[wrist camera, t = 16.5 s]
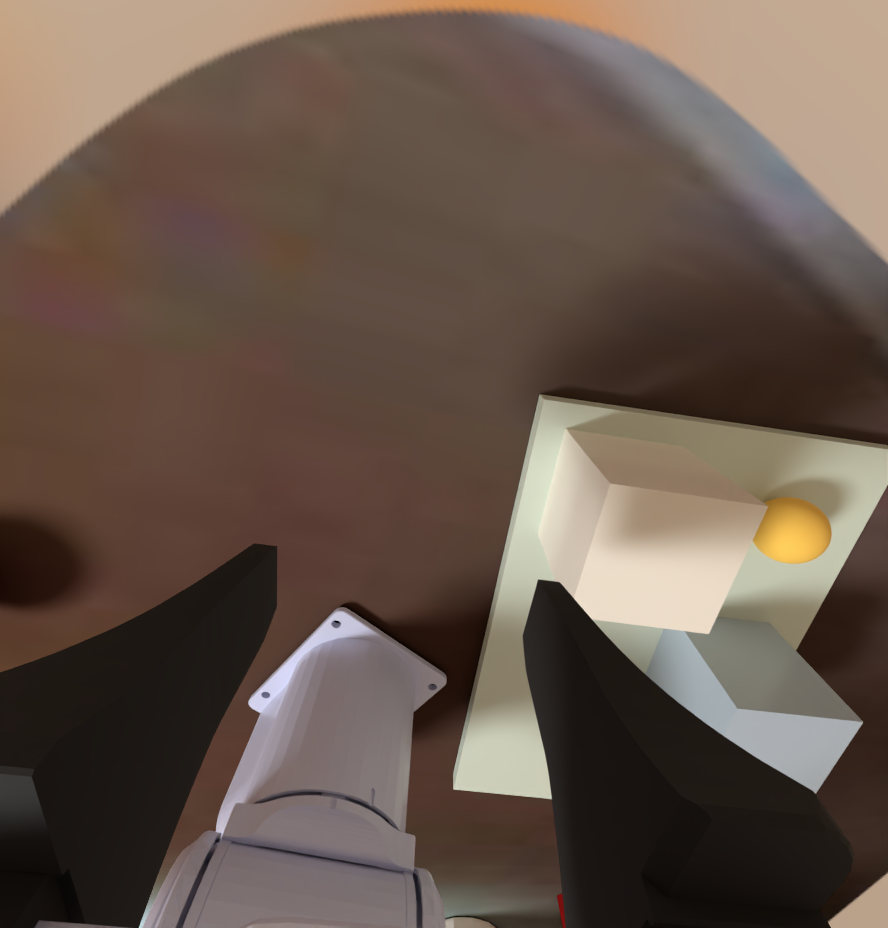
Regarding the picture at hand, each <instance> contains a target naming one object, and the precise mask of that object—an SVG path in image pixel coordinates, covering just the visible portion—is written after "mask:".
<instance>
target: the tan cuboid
mask: <svg viewBox="0 0 888 928" xmlns="http://www.w3.org/2000/svg"><path fill="white" fill-rule="evenodd" d="M767 508H768V506H767V505H766V504H764V503H763V502H761V501H760V500H759V499H757V498H756V497H754V496H753V495H751V494H750V493H749V492H747V491H746V490H744V489H743V488H741V487H740V486H739V485H737V484H736V483H734V482H733V481H731V480H730V479H729V478H727V477H726V476H724V475H723V474H721V473H720V472H719V471H717V470H716V469H714V468H713V467H711V466H710V465H709V464H707V463H706V462H704V461H703V460H701V459H700V458H699V457H697V456H696V455H694V454H693V453H691V452H690V451H689V450H687V449H686V448H684V447H683V446H677V445H670V444H664V443H657V442H650V441H644V440H637V439H631V438H624V437H617V436H611V435H604V434H597V433H591V432H584V431H577V430H571V429H565V433H564V437H563V441H562V444H561V448H560V452H559V456H558V459H557V463H556V467H555V471H554V475H553V478H552V482H551V486H550V490H549V493H548V497H547V501H546V505H545V509H544V512H543V516H542V520H541V524H540V527H539V531H538V536H539V539H540V541H541V544H542V547H543V549H544V552H545V555H546V558H547V560H548V563H549V566H550V568H551V571H552V574H553V577H554V579H555V581H556V582H560V583H561V584H562V585H563V586H564V587H565V589H566V590H567V591H568V592H569V593H570V594H571V595H572V597H573V598H574V599H575V600H576V601H577V603H578V604H579V605H580V606H581V607H582V608H583V610H584V611H585V612H586V613H587V614H588V615H589V617H590V618H591V619H593V620H601V621H609V622H617V623H625V624H632V625H640V626H648V627H656V628H664V629H672V630H680V631H688V632H696V633H703V634H709V633H710V631H711V629H712V626H713V624H714V622H715V620H716V618H717V616H718V614H719V611H720V609H721V607H722V605H723V603H724V601H725V599H726V596H727V594H728V592H729V590H730V588H731V586H732V583H733V581H734V579H735V577H736V575H737V573H738V571H739V568H740V566H741V564H742V562H743V560H744V558H745V556H746V553H747V551H748V549H749V547H750V545H751V543H752V541H753V538H754V536H755V534H756V532H757V530H758V528H759V526H760V523H761V521H762V519H763V517H764V515H765V513H766V510H767Z"/></svg>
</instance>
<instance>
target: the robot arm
mask: <svg viewBox="0 0 888 928" xmlns="http://www.w3.org/2000/svg"><path fill="white" fill-rule="evenodd" d="M276 607H277V546H270V545H262V544H253V545H251V546H250V547H248V548H247V549H245V550H244V551H242V552H241V553H240V554H238V555H237V556H235V557H234V558H232V559H231V560H229V561H228V562H226V563H225V564H223V565H222V566H220V567H219V568H218V569H216V570H215V571H213V572H211V573H210V574H208V575H207V576H205V577H204V578H202V579H201V580H199V581H198V582H196V583H195V584H193V585H191V586H190V587H188V588H186V589H185V590H183V591H181V592H180V593H178V594H176V595H175V596H173V597H171V598H170V599H168V600H166V601H165V602H163V603H161V604H160V605H158V606H156V607H154V608H152V609H151V610H149V611H147V612H145V613H143V614H141V615H139V616H137V617H135V618H133V619H131V620H129V621H127V622H125V623H123V624H121V625H119V626H117V627H115V628H113V629H111V630H109V631H106V632H104V633H102V634H99V635H97V636H95V637H92V638H90V639H88V640H85V641H83V642H81V643H78V644H76V645H74V646H71V647H69V648H67V649H64V650H62V651H59V652H57V653H54V654H51V655H49V656H46V657H43V658H41V659H38V660H35V661H33V662H30V663H27V664H24V665H21V666H18V667H15V668H12V669H9V670H7V671H4V672H1V673H0V928H139V925H140V922H141V920H142V917H143V914H144V911H145V908H146V906H147V903H148V900H149V897H150V895H151V892H152V889H153V886H154V884H155V881H156V878H157V875H158V873H159V870H160V868H161V865H162V862H163V860H164V857H165V855H166V852H167V849H168V847H169V844H170V841H171V839H172V836H173V834H174V831H175V828H176V826H177V823H178V821H179V818H180V816H181V813H182V811H183V808H184V806H185V803H186V801H187V798H188V796H189V793H190V791H191V788H192V786H193V783H194V781H195V779H196V776H197V774H198V771H199V769H200V767H201V764H202V762H203V760H204V757H205V755H206V752H207V750H208V748H209V745H210V743H211V741H212V738H213V736H214V734H215V732H216V730H217V728H218V726H219V724H220V722H221V720H222V718H223V716H224V714H225V712H226V710H227V708H228V707H229V705H230V703H231V701H232V699H233V697H234V695H235V694H236V692H237V690H238V688H239V686H240V684H241V682H242V681H243V679H244V677H245V675H246V673H247V671H248V669H249V668H250V666H251V664H252V662H253V660H254V658H255V656H256V654H257V653H258V651H259V649H260V647H261V645H262V643H263V641H264V639H265V636H266V634H267V631H268V629H269V626H270V623H271V621H272V618H273V615H274V613H275V610H276ZM335 620H337V621H339V622H340V623H336V622H334V621H335ZM523 647H524V658H525V667H526V674H527V678H528V683H529V687H530V692H531V696H532V700H533V705H534V709H535V713H536V718H537V722H538V726H539V730H540V735H541V739H542V743H543V748H544V752H545V757H546V762H547V768H548V774H549V781H550V788H551V796H552V803H553V811H554V819H555V828H556V836H557V845H558V854H559V863H560V873H561V884H562V894H563V904H564V915H565V927H566V928H831V927H830V925H829V924H828V922H827V920H826V918H825V917H824V915H823V913H822V912H821V910H820V909H821V908H822V906H823V905H824V904H825V903H826V902H827V901H828V899H829V898H830V897H831V896H832V895H833V894H834V892H835V891H836V890H837V889H838V888H839V887H840V885H841V884H842V883H843V882H844V881H845V879H846V877H847V876H848V874H849V872H850V871H851V867H852V861H853V855H854V853H853V850H852V847H851V845H850V842H849V841H848V839H847V838H846V837H845V835H844V834H843V832H842V831H841V829H840V828H839V827H838V825H837V824H836V822H835V821H834V819H833V818H832V817H831V815H830V814H829V812H828V811H827V809H826V808H825V807H824V805H823V804H822V802H821V801H820V799H819V798H818V797H817V795H816V794H815V793H814V791H812V790H810V789H809V788H807V787H805V786H804V785H802V784H800V783H799V782H797V781H795V780H793V779H792V778H790V777H788V776H787V775H785V774H783V773H782V772H780V771H778V770H776V769H775V768H773V767H771V766H770V765H768V764H766V763H764V762H763V761H761V760H760V759H758V758H756V757H755V756H753V755H752V754H750V753H749V752H747V751H746V750H744V749H743V748H741V747H740V746H738V745H736V744H735V743H733V742H732V741H730V740H729V739H727V738H726V737H724V736H723V735H722V734H720V733H719V732H717V731H716V730H714V729H713V728H712V727H710V726H709V725H707V724H706V723H705V722H703V721H702V720H701V719H699V718H698V717H697V716H695V715H694V714H693V713H691V712H690V711H689V710H688V709H686V708H685V707H684V706H682V705H681V704H680V703H678V702H677V701H676V700H675V699H674V698H672V697H671V696H670V695H669V694H667V693H666V692H665V691H664V690H663V689H662V688H660V687H659V686H658V685H657V684H656V683H655V682H654V681H652V680H651V679H650V678H649V677H648V676H647V675H646V674H644V673H643V672H642V671H641V670H640V669H639V668H638V667H637V666H636V665H635V664H634V663H633V662H632V661H631V660H630V659H629V658H628V657H627V656H626V655H625V654H624V653H623V652H622V651H621V650H620V649H619V648H618V647H617V646H616V645H615V644H614V643H613V642H612V641H611V640H610V639H609V638H608V637H607V636H606V634H605V633H604V632H603V631H602V630H601V629H600V628H599V627H598V626H597V624H596V623H595V622H594V621H593V620H592V619H591V618H590V617H589V615H588V614H587V613H586V612H585V611H584V610H583V608H582V607H581V606H580V605H579V604H578V603H577V601H576V600H575V599H574V598H573V597H572V595H571V594H570V593H569V592H568V591H567V590H566V589H565V587H564V586H563V585H562V584H561V583H560V582H556V581H548V580H540V579H538V581H537V585H536V589H535V592H534V596H533V600H532V603H531V607H530V610H529V614H528V618H527V621H526V625H525V629H524V632H523ZM446 682H447V677H446V675H445V674H444V673H443V672H442V671H440V670H439V669H437V668H436V667H434V666H433V665H431V664H430V663H428V662H427V661H425V660H424V659H422V658H421V657H419V656H418V655H416V654H415V653H413V652H412V651H410V650H409V649H407V648H406V647H404V646H403V645H401V644H400V643H398V642H397V641H396V640H394V639H393V638H391V637H390V636H388V635H387V634H385V633H384V632H382V631H381V630H379V629H378V628H376V627H375V626H373V625H372V624H370V623H369V622H367V621H366V620H364V619H363V618H361V617H360V616H358V615H357V614H355V613H354V612H352V611H351V610H349V609H347V608H345V607H340V608H337V609H336V610H335V611H334V612H333V613H332V614H331V615H330V616H329V617H328V618H327V619H326V620H325V621H324V622H323V623H322V624H321V625H320V626H319V627H318V628H317V629H316V630H315V631H314V632H313V633H312V634H311V635H310V636H309V637H308V638H307V639H306V640H305V641H304V642H303V644H302V645H301V646H300V647H299V648H298V649H297V650H296V651H295V652H294V653H293V654H292V655H291V656H290V657H289V658H288V659H287V660H286V661H285V662H284V663H283V664H282V665H281V666H280V667H279V668H278V669H277V670H276V671H275V672H274V673H273V674H272V675H271V676H270V677H269V678H268V679H267V680H266V681H265V682H264V683H263V684H262V685H261V686H260V687H259V689H258V690H257V691H256V692H255V693H254V694H253V695H252V696H251V698H250V700H249V706H250V707H251V708H252V709H254V710H256V711H258V712H259V713H261V714H260V716H259V718H258V721H257V723H256V725H255V728H254V730H253V732H252V735H251V737H250V740H249V742H248V744H247V747H246V749H245V751H244V754H243V756H242V758H241V761H240V763H239V766H238V768H237V770H236V773H235V775H234V777H233V780H232V782H231V785H230V787H229V789H228V792H227V794H226V796H225V799H224V801H223V803H222V806H221V809H220V812H219V815H218V820H217V825H216V832H214V831H206V832H204V833H203V834H202V835H201V836H200V837H199V838H198V840H196V841H194V842H193V843H192V844H190V845H189V846H188V847H186V848H185V849H184V850H183V851H182V852H181V854H180V855H179V856H178V858H177V859H176V861H175V863H174V864H173V866H172V868H171V870H170V871H169V873H168V875H167V877H166V879H165V881H164V883H163V885H162V887H161V889H160V891H159V893H158V895H157V897H156V899H155V901H154V903H153V906H152V908H151V910H150V912H149V914H148V917H147V919H146V921H145V923H144V926H143V928H446V924H445V914H444V908H443V903H442V900H441V896H440V894H439V892H438V890H437V888H436V887H435V884H434V881H433V878H432V876H431V874H430V873H429V871H428V870H426V869H421V868H415V867H414V856H415V836H414V835H411V834H407V833H405V827H406V813H407V799H408V785H409V770H410V756H411V742H412V728H413V713H414V711H416V710H417V709H418V708H419V707H420V706H422V705H423V704H424V703H425V702H426V701H427V700H429V699H430V698H431V697H432V696H433V695H434V694H436V693H437V692H438V691H439V690H440V689H441V688H443V687H444V686H445V685H446ZM430 684H435V685H430ZM267 692H268V693H267Z"/></svg>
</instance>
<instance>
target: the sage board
mask: <svg viewBox="0 0 888 928" xmlns="http://www.w3.org/2000/svg"><path fill="white" fill-rule="evenodd" d="M565 429H571V430H577V431H584V432H591V433H597V434H604V435H611V436H617V437H624V438H631V439H637V440H644V441H650V442H657V443H664V444H670V445H677V446H683V447H684V448H686V449H687V450H689V451H690V452H691V453H693V454H694V455H696V456H697V457H699V458H700V459H701V460H703V461H704V462H706V463H707V464H709V465H710V466H711V467H713V468H714V469H716V470H717V471H719V472H720V473H721V474H723V475H724V476H726V477H727V478H729V479H730V480H731V481H733V482H734V483H736V484H737V485H739V486H740V487H741V488H743V489H744V490H746V491H747V492H749V493H750V494H751V495H753V496H754V497H756V498H757V499H759V500H760V501H761V502H763V503H765V502H767V501H769V500H772V499H776V498H781V497H792V498H799V499H802V500H805V501H808V502H810V503H812V504H813V505H815V506H816V507H818V508H819V509H820V510H821V511H822V512H823V513H824V514H825V515H826V517H827V518H828V520H829V523H830V525H831V531H832V537H831V541H830V544H829V546H828V548H827V549H826V550H825V552H824V553H823V554H821V555H820V556H819V557H817V558H816V559H814V560H812V561H809V562H805V563H800V564H788V563H782V562H779V561H776V560H773V559H771V558H769V557H768V556H766V555H765V554H763V553H762V552H761V551H760V550H759V549H758V548H757V547H756V546H755V544H754V543H753V541H752V543H751V545H750V547H749V549H748V551H747V553H746V556H745V558H744V560H743V562H742V564H741V566H740V568H739V571H738V573H737V575H736V577H735V579H734V581H733V583H732V586H731V588H730V590H729V592H728V594H727V596H726V599H725V601H724V603H723V605H722V607H721V609H720V611H719V614H718V616H717V617H724V618H733V619H741V620H750V621H758V622H767V623H770V624H771V625H772V626H773V627H774V628H775V629H776V630H777V631H778V633H779V634H780V635H781V636H782V637H783V638H784V639H785V640H786V641H787V642H788V643H789V644H790V645H791V646H792V647H793V648H794V649H795V650H797V648H798V646H799V644H800V642H801V641H802V639H803V637H804V635H805V633H806V632H807V630H808V628H809V626H810V624H811V622H812V621H813V619H814V617H815V615H816V613H817V612H818V610H819V608H820V606H821V604H822V603H823V601H824V599H825V597H826V595H827V594H828V592H829V590H830V588H831V586H832V585H833V583H834V581H835V579H836V577H837V576H838V574H839V572H840V570H841V568H842V566H843V565H844V563H845V561H846V559H847V557H848V556H849V554H850V552H851V550H852V548H853V547H854V545H855V543H856V541H857V539H858V538H859V536H860V534H861V532H862V530H863V529H864V527H865V525H866V523H867V521H868V520H869V518H870V516H871V514H872V512H873V510H874V509H875V507H876V505H877V503H878V501H879V500H880V498H881V496H882V494H883V492H884V491H885V489H886V487H887V485H888V445H884V444H877V443H870V442H863V441H856V440H850V439H843V438H836V437H829V436H822V435H815V434H809V433H802V432H795V431H788V430H781V429H774V428H768V427H761V426H754V425H747V424H740V423H733V422H726V421H720V420H713V419H706V418H699V417H692V416H685V415H679V414H672V413H665V412H658V411H651V410H644V409H638V408H631V407H624V406H617V405H610V404H603V403H597V402H590V401H583V400H576V399H569V398H562V397H556V396H549V395H542V394H540V395H539V399H538V403H537V408H536V412H535V417H534V421H533V425H532V430H531V434H530V439H529V443H528V447H527V452H526V456H525V461H524V465H523V469H522V474H521V478H520V483H519V487H518V491H517V496H516V500H515V505H514V509H513V513H512V518H511V522H510V527H509V531H508V535H507V540H506V544H505V549H504V553H503V557H502V562H501V566H500V570H499V575H498V579H497V584H496V588H495V592H494V597H493V601H492V606H491V610H490V614H489V619H488V623H487V628H486V632H485V636H484V641H483V645H482V650H481V654H480V658H479V663H478V667H477V672H476V676H475V680H474V685H473V689H472V694H471V698H470V702H469V707H468V711H467V716H466V720H465V724H464V729H463V733H462V738H461V742H460V746H459V751H458V755H457V760H456V764H455V768H454V773H453V788H454V789H455V790H466V791H476V792H486V793H496V794H506V795H517V796H527V797H537V798H547V799H552V796H551V788H550V781H549V774H548V768H547V762H546V757H545V752H544V748H543V743H542V739H541V735H540V730H539V726H538V722H537V718H536V713H535V709H534V705H533V700H532V696H531V692H530V687H529V683H528V678H527V674H526V667H525V658H524V647H523V632H524V629H525V625H526V621H527V618H528V614H529V610H530V607H531V603H532V600H533V596H534V592H535V589H536V585H537V581H538V579H540V580H548V581H555V579H554V577H553V574H552V571H551V568H550V566H549V563H548V560H547V558H546V555H545V552H544V549H543V547H542V544H541V541H540V539H539V536H538V531H539V527H540V524H541V520H542V516H543V512H544V509H545V505H546V501H547V497H548V493H549V490H550V486H551V482H552V478H553V475H554V471H555V467H556V463H557V459H558V456H559V452H560V448H561V444H562V441H563V437H564V433H565ZM592 620H593V619H592ZM593 621H594V622H595V623H596V624H597V626H598V627H599V628H600V629H601V630H602V631H603V632H604V633H605V634H606V636H607V637H608V638H609V639H610V640H611V641H612V642H613V643H614V644H615V645H616V646H617V647H618V648H619V649H620V650H621V651H622V652H623V653H624V654H625V655H626V656H627V657H628V658H629V659H630V660H631V661H632V662H633V663H634V664H635V665H636V666H637V667H638V668H639V669H640V670H641V671H642V672H643V673H644V674H646V672H647V669H648V667H649V664H650V662H651V659H652V657H653V654H654V652H655V649H656V647H657V644H658V642H659V639H660V637H661V634H662V632H663V629H664V628H656V627H648V626H640V625H632V624H625V623H617V622H609V621H601V620H593Z"/></svg>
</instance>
